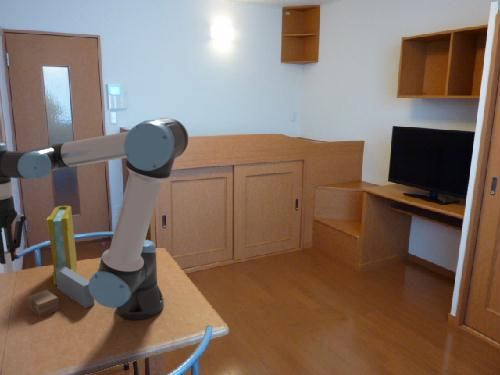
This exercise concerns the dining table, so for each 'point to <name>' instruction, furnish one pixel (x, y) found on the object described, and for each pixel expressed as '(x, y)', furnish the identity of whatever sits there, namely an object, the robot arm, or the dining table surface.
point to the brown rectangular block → (43, 303)
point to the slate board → (74, 286)
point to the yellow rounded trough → (62, 239)
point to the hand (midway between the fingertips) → (8, 272)
